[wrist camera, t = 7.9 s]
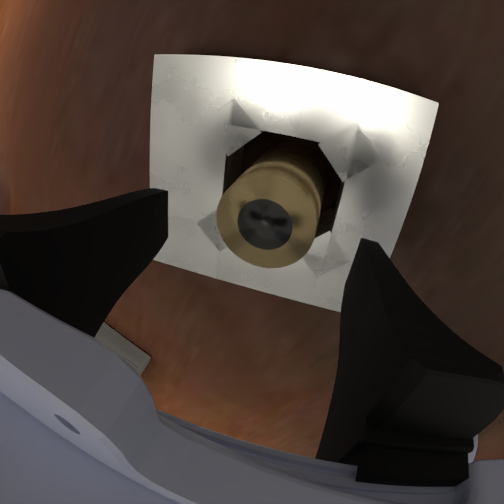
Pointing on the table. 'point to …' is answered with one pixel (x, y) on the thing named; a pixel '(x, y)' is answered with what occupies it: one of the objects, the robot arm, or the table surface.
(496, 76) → the table surface
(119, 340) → the supplement box
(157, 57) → the jig
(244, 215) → the bushing
